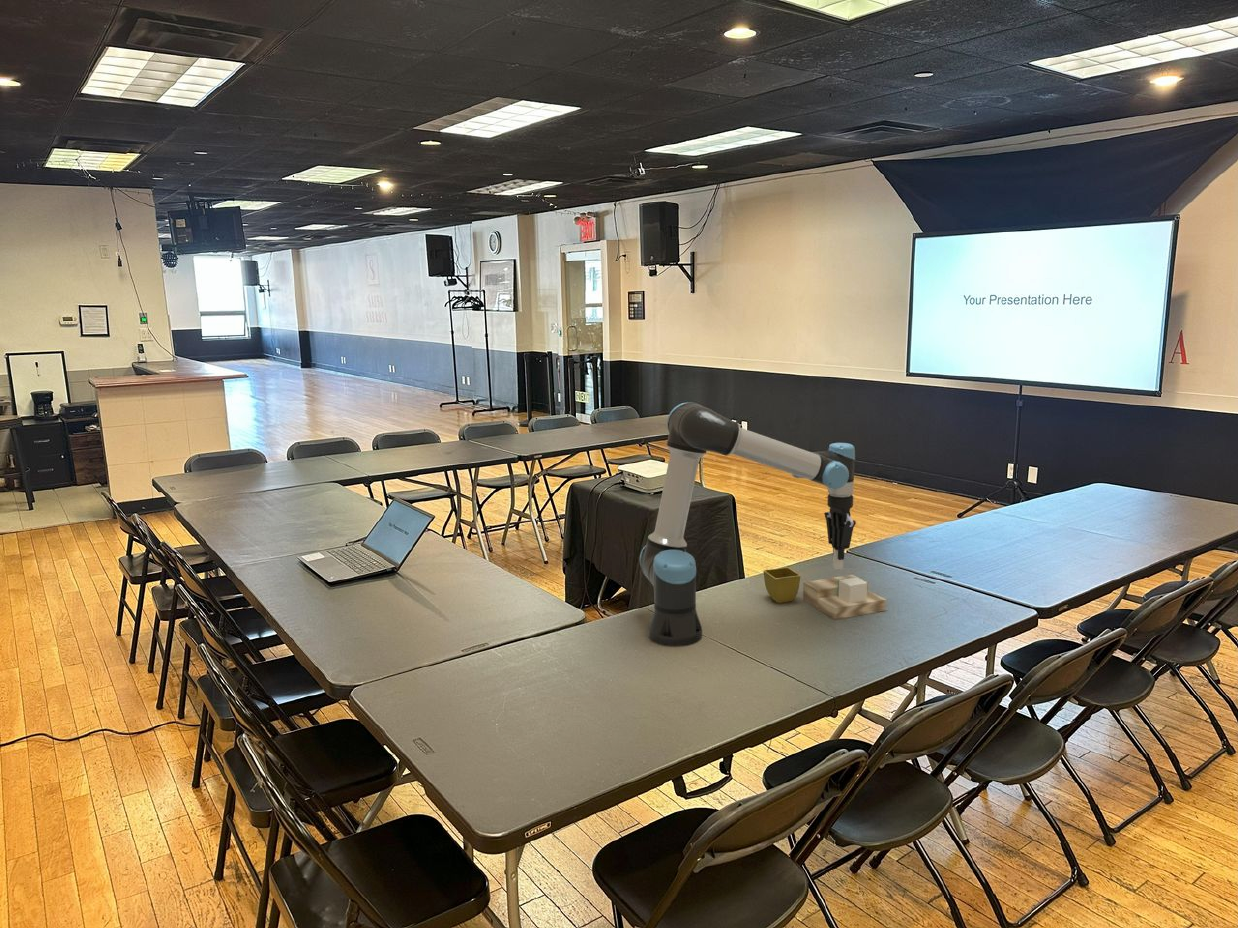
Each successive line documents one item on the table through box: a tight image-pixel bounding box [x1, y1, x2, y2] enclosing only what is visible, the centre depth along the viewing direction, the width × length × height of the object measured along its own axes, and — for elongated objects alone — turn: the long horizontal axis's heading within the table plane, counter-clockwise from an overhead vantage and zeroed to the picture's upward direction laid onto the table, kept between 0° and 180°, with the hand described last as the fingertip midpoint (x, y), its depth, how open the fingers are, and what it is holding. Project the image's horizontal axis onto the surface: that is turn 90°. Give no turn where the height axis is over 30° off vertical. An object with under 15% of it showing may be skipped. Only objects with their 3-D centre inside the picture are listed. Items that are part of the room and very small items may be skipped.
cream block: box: [838, 576, 867, 603], centre depth 240 cm, size 6×6×6 cm
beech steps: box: [802, 574, 887, 620], centre depth 244 cm, size 18×17×6 cm
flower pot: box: [762, 566, 801, 604], centre depth 250 cm, size 9×9×9 cm
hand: (838, 568), depth 246 cm, fingers closed
